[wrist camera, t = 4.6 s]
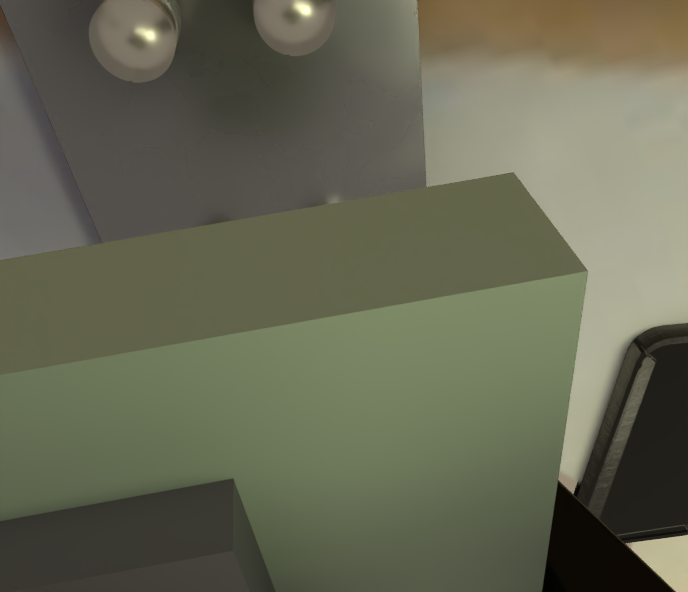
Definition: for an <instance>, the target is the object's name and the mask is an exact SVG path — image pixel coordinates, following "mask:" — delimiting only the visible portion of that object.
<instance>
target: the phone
mask: <svg viewBox="0 0 688 592" xmlns="http://www.w3.org/2000/svg"><path fill="white" fill-rule="evenodd" d="M573 495H574V496H575V497H576V498H578V499H579V500H580V501H581V502H582V503H583V504H584V505H585V506H586V507H587V508H588V509H589V510H590V511H591V512H592V513H593V514H594V515H595V516H596V517H598V518H599V519H600V520H601V521H602V522H603V523H604V524H605V525H606V526H607V527H608V528H609V529H610V530H611V531H612V532H613V533H614V534H615V535H617V536H618V537H619V538H620V539H621V540H622V541H623V542H624V543H631V542H638V541H646V540H653V539H661V538H668V537H676V536H683V535H688V323H684V324H674V325H664V326H658V327H654V328H651V329H649V330H647V331H645V332H643V333H642V334H641V335H639V336H638V337H637V338H636V339H635V340H634V341H633V342H632V343H631V345H630V346H629V348H628V350H627V353H626V356H625V359H624V362H623V365H622V368H621V371H620V374H619V376H618V379H617V382H616V385H615V388H614V391H613V394H612V397H611V400H610V403H609V405H608V408H607V411H606V414H605V417H604V420H603V423H602V426H601V429H600V431H599V434H598V437H597V440H596V443H595V446H594V449H593V452H592V455H591V458H590V460H589V463H588V466H587V469H586V472H585V475H584V478H583V481H582V483H581V482H577V485H576V487H575V491H574V494H573Z"/></svg>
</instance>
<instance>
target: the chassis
mask: <svg viewBox="0 0 688 592" xmlns="http://www.w3.org/2000/svg"><path fill="white" fill-rule="evenodd" d="M0 5H1V8H2V10H3V12H4V15H5V17H6V19H7V22H8V24H9V26H10V29H11V31H12V34H13V36H14V38H15V41H16V43H17V45H18V48H19V50H20V52H21V55H22V57H23V59H24V62H25V64H26V66H27V69H28V71H29V73H30V76H31V78H32V80H33V83H34V85H35V87H36V90H37V92H38V94H39V97H40V99H41V101H42V104H43V106H44V108H45V111H46V113H47V115H48V118H49V120H50V122H51V125H52V127H53V129H54V132H55V134H56V136H57V139H58V141H59V143H60V146H61V148H62V150H63V153H64V155H65V157H66V160H67V162H68V164H69V167H70V169H71V171H72V174H73V176H74V178H75V181H76V183H77V185H78V188H79V190H80V192H81V195H82V197H83V199H84V202H85V204H86V207H87V209H88V211H89V214H90V216H91V218H92V221H93V223H94V225H95V228H96V230H97V232H98V235H99V237H100V239H101V242H102V243H105V242H111V241H117V240H123V239H129V238H134V237H140V236H146V235H152V234H158V233H164V232H169V231H175V230H181V229H187V228H193V227H199V226H204V225H210V224H216V223H222V222H228V221H234V220H239V219H245V218H251V217H257V216H263V215H269V214H274V213H280V212H286V211H292V210H298V209H303V208H309V207H315V206H321V205H327V204H333V203H338V202H344V201H350V200H356V199H362V198H368V197H373V196H379V195H385V194H391V193H397V192H403V191H408V190H414V189H420V188H426V170H425V150H424V130H423V109H422V89H421V69H420V48H419V28H418V8H417V0H0Z"/></svg>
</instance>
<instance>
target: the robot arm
mask: <svg viewBox="0 0 688 592" xmlns="http://www.w3.org/2000/svg"><path fill="white" fill-rule="evenodd" d="M542 592H676V591H674V590H673V589H672V588H671V587H670V586H669V585H668V584H667V583H666V582H665V581H664V580H663V579H662V578H661V577H660V576H659V575H658V574H657V573H655V572H654V571H653V570H652V569H651V568H650V567H649V566H648V565H647V564H646V563H645V562H644V561H643V560H642V559H641V558H640V557H639V556H638V555H637V554H635V553H634V552H633V551H632V550H631V549H630V548H629V547H628V546H627V545H626V544H625V543H624V542H623V541H622V540H621V539H620V538H619V537H618V536H617V535H615V534H614V533H613V532H612V531H611V530H610V529H609V528H608V527H607V526H606V525H605V524H604V523H603V522H602V521H601V520H600V519H599V518H598V517H596V516H595V515H594V514H593V513H592V512H591V511H590V510H589V509H588V508H587V507H586V506H585V505H584V504H583V503H582V502H581V501H580V500H579V499H578V498H576V497H575V496H574V495H573V494H572V493H571V492H570V491H569V490H568V489H567V488H566V487H565V486H564V485H563V484H562V483H561V482H560V481H559V480H558V484H557V491H556V498H555V504H554V511H553V518H552V525H551V532H550V539H549V546H548V553H547V560H546V567H545V574H544V581H543V588H542Z"/></svg>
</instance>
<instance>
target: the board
mask: <svg viewBox="0 0 688 592" xmlns="http://www.w3.org/2000/svg"><path fill="white" fill-rule="evenodd" d="M587 275H588V270H587V269H586V268H585V266H584V265H583V264H582V262H581V261H580V260H579V258H578V257H577V256H576V254H575V253H574V252H573V250H572V249H571V248H570V247H569V245H568V244H567V243H566V241H565V240H564V239H563V237H562V236H561V235H560V233H559V232H558V231H557V229H556V228H555V227H554V225H553V224H552V223H551V221H550V220H549V219H548V217H547V216H546V215H545V213H544V212H543V211H542V209H541V208H540V207H539V205H538V204H537V203H536V201H535V200H534V199H533V198H532V196H531V195H530V194H529V192H528V191H527V190H526V188H525V187H524V186H523V184H522V183H521V182H520V180H519V179H518V178H517V176H516V175H515V174H514V172H513V173H507V174H502V175H496V176H490V177H484V178H478V179H472V180H467V181H461V182H455V183H449V184H443V185H438V186H432V187H426V188H420V189H414V190H408V191H403V192H397V193H391V194H385V195H379V196H373V197H368V198H362V199H356V200H350V201H344V202H338V203H333V204H327V205H321V206H315V207H309V208H303V209H298V210H292V211H286V212H280V213H274V214H269V215H263V216H257V217H251V218H245V219H239V220H234V221H228V222H222V223H216V224H210V225H204V226H199V227H193V228H187V229H181V230H175V231H169V232H164V233H158V234H152V235H146V236H140V237H134V238H129V239H123V240H117V241H111V242H105V243H100V244H94V245H88V246H82V247H76V248H70V249H65V250H59V251H53V252H47V253H41V254H35V255H30V256H24V257H18V258H12V259H6V260H0V592H542V588H543V581H544V574H545V567H546V560H547V553H548V546H549V539H550V532H551V525H552V518H553V511H554V504H555V498H556V491H557V484H558V477H559V470H560V463H561V456H562V449H563V442H564V435H565V428H566V421H567V414H568V407H569V400H570V393H571V386H572V380H573V373H574V366H575V359H576V352H577V345H578V338H579V331H580V324H581V317H582V310H583V303H584V296H585V289H586V282H587Z"/></svg>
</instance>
